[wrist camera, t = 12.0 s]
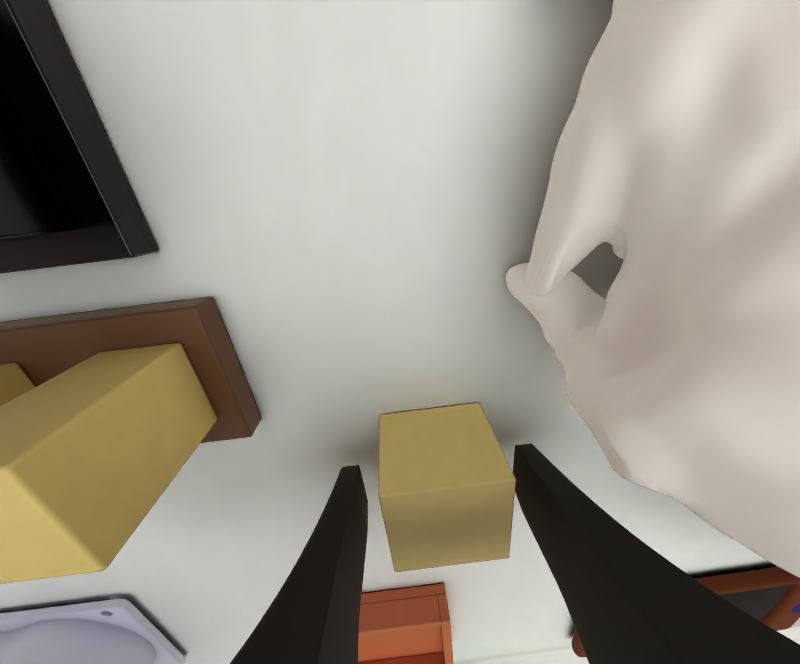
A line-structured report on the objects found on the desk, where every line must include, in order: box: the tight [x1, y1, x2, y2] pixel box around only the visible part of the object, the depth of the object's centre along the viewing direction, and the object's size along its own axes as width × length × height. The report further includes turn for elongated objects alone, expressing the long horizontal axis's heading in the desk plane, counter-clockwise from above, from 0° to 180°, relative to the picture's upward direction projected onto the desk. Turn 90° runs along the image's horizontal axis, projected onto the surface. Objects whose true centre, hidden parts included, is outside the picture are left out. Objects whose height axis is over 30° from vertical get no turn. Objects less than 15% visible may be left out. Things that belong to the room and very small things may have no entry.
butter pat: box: [379, 403, 516, 572], centre depth 11 cm, size 4×4×4 cm
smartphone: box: [572, 567, 800, 657], centre depth 19 cm, size 7×1×15 cm
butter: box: [0, 297, 261, 584], centre depth 8 cm, size 5×9×6 cm, turn 96°
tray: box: [358, 584, 453, 664], centre depth 18 cm, size 8×8×2 cm
